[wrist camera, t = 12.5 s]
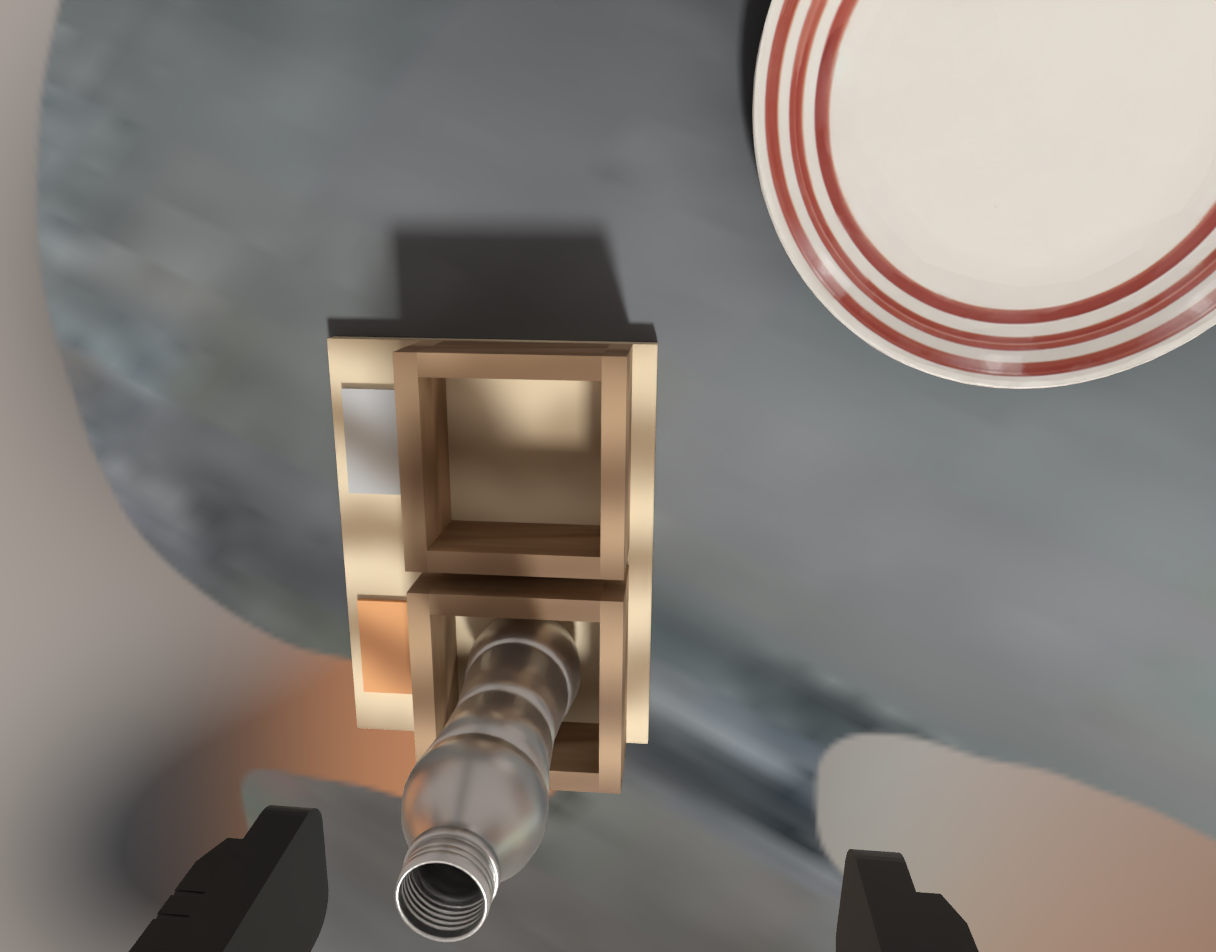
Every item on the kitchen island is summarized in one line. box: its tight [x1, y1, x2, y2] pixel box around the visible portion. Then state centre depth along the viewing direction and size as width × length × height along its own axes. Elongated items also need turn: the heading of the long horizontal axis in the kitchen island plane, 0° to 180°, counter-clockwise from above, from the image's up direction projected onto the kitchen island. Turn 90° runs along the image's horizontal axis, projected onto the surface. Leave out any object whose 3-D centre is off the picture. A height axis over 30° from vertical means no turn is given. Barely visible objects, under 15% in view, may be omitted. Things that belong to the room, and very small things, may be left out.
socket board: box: [327, 336, 658, 794], centre depth 48 cm, size 24×18×6 cm
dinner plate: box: [752, 0, 1216, 389], centre depth 41 cm, size 27×27×3 cm
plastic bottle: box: [395, 618, 581, 942], centre depth 41 cm, size 6×7×20 cm
